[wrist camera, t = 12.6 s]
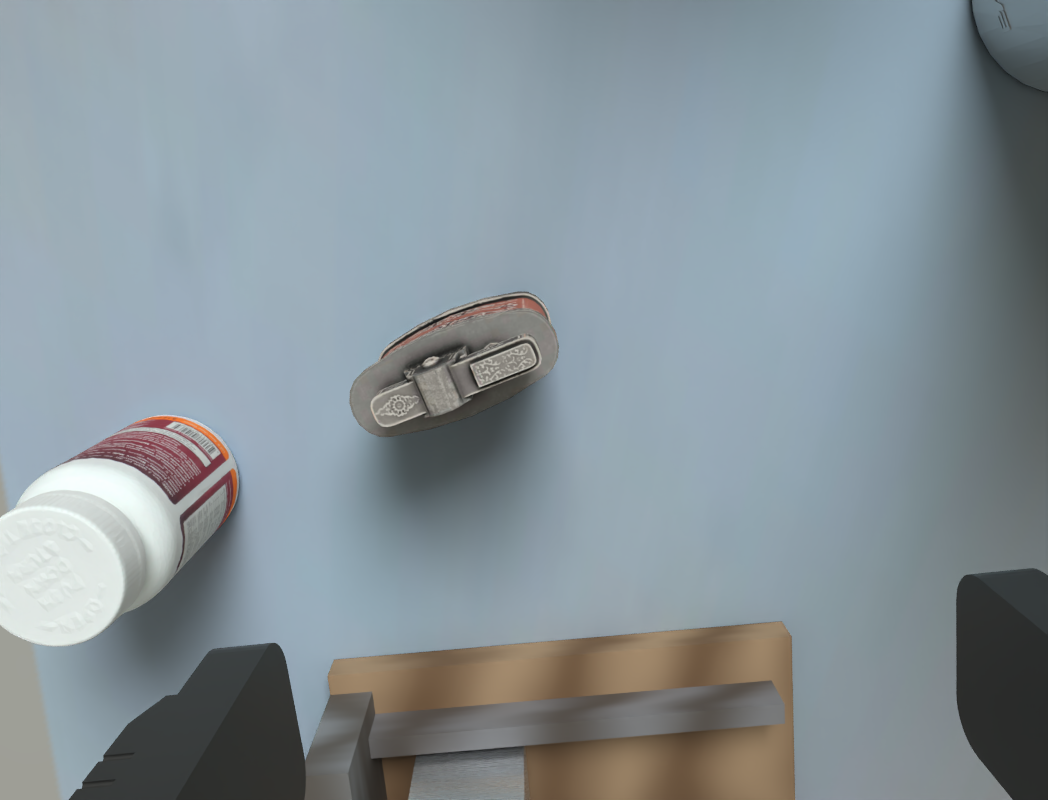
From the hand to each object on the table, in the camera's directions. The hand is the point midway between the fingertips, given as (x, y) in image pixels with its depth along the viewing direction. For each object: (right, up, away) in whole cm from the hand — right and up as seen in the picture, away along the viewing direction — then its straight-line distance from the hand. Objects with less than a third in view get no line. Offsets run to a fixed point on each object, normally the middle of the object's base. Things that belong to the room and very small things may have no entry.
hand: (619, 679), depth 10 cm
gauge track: (+1, -14, +33) cm, 36 cm away
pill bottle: (-17, 0, +30) cm, 34 cm away
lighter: (-4, +6, +28) cm, 29 cm away
